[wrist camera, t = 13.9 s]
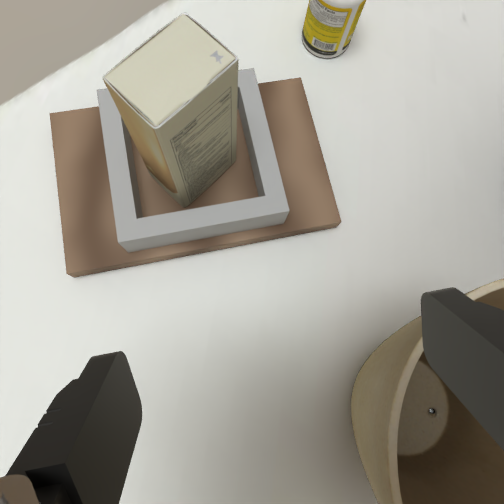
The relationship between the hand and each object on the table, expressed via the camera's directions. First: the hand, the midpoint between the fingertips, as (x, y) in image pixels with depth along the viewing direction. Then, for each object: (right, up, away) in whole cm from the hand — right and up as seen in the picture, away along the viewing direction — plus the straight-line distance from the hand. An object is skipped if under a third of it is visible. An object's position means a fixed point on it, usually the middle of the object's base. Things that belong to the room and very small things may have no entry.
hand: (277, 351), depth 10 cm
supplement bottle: (+7, +24, +28) cm, 37 cm away
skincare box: (-6, +10, +22) cm, 24 cm away
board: (-6, +9, +23) cm, 25 cm away
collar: (-5, +10, +22) cm, 24 cm away
